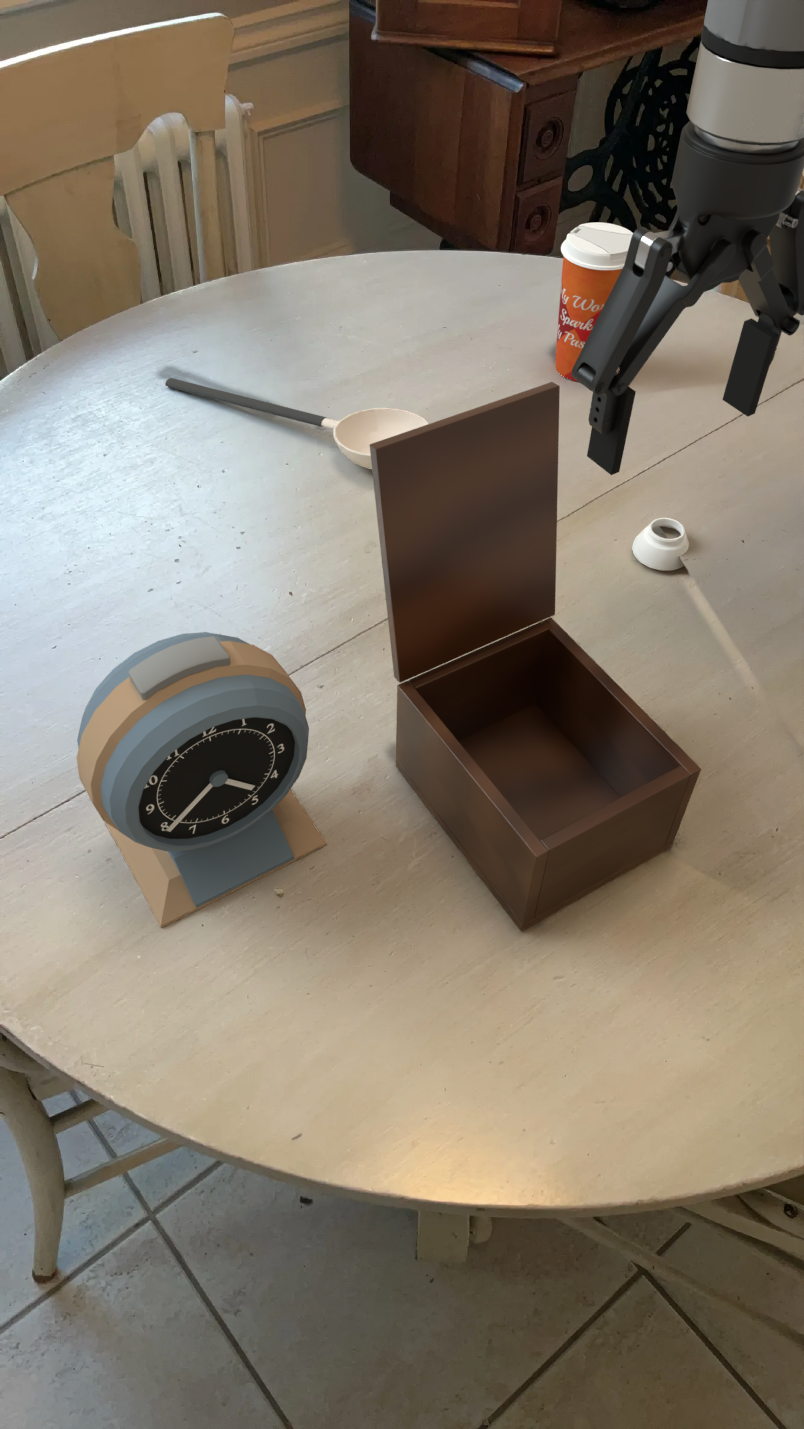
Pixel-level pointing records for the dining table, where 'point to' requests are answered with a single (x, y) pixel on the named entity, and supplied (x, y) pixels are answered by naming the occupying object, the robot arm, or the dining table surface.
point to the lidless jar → (661, 545)
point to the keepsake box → (540, 769)
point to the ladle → (327, 420)
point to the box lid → (468, 527)
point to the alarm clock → (198, 768)
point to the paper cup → (586, 285)
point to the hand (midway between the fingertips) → (672, 434)
